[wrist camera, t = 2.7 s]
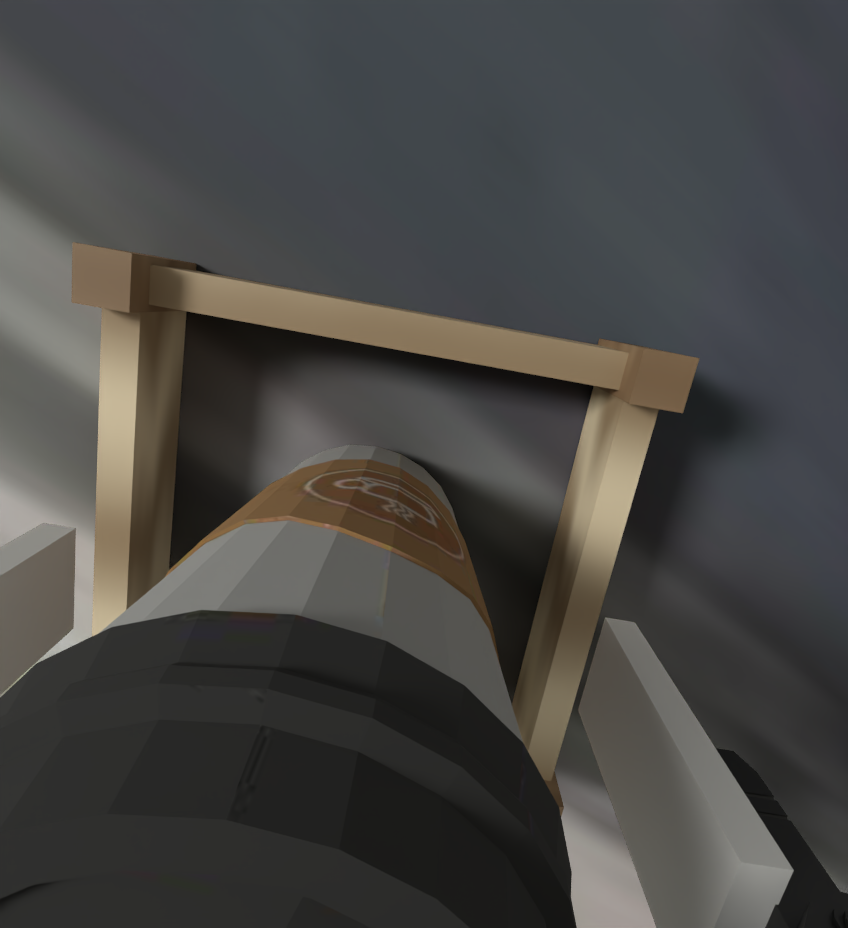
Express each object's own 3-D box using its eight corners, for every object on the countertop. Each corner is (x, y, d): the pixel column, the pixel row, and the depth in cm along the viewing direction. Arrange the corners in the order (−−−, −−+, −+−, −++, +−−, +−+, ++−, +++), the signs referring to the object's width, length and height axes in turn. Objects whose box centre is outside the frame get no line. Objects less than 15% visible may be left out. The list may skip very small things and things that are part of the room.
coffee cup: (528, 476, 20) (807, 972, 5) (421, 671, 22) (401, 1423, 7) (296, 367, 19) (-168, 594, 4) (207, 582, 21) (-309, 1232, 6)
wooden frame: (150, 255, 18) (72, 242, 14) (643, 346, 18) (699, 358, 14) (128, 685, 22) (63, 767, 18) (532, 749, 22) (553, 842, 19)
